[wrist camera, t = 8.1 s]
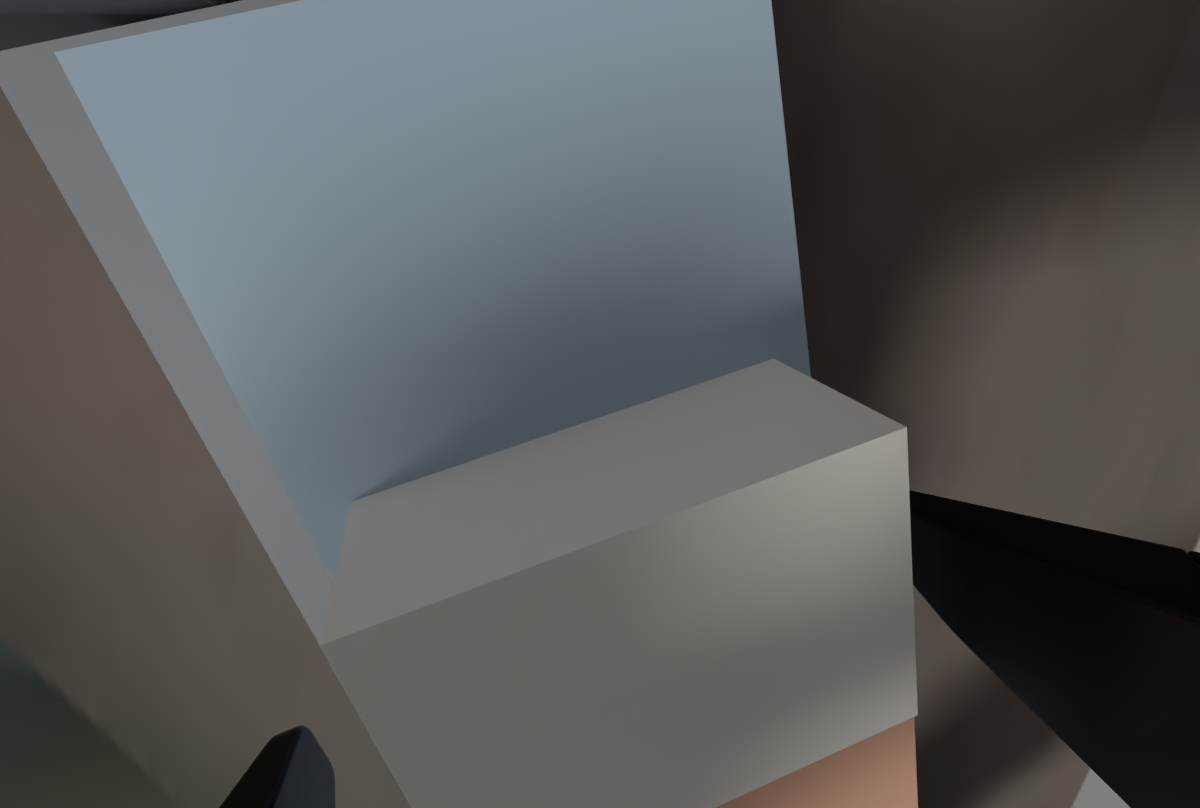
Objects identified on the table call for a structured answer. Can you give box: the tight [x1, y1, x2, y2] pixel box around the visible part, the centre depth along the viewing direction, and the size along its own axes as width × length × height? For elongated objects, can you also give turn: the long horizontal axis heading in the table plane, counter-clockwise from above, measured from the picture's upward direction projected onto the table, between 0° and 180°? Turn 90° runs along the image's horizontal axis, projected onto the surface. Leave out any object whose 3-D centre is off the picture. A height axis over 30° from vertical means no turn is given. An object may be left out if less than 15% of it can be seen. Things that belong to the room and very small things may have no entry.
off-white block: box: [319, 359, 918, 808], centre depth 7 cm, size 4×5×2 cm
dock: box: [0, 0, 333, 643], centre depth 13 cm, size 18×10×4 cm, turn 14°
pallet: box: [54, 0, 811, 582], centre depth 10 cm, size 16×6×4 cm, turn 14°
